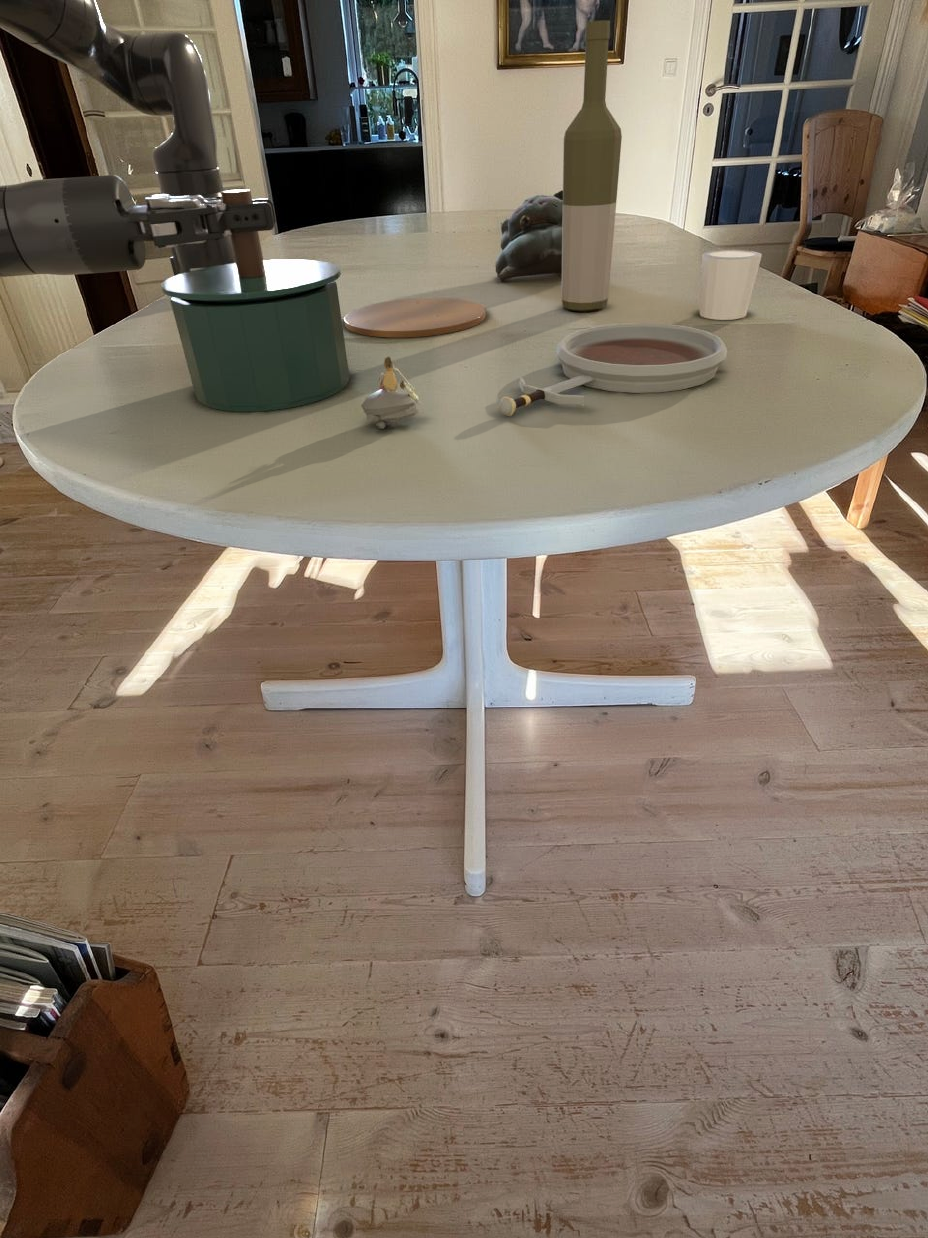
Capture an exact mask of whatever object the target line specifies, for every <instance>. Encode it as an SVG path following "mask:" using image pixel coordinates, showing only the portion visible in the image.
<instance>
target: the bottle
mask: <svg viewBox="0 0 928 1238" xmlns="http://www.w3.org/2000/svg"><path fill="white" fill-rule="evenodd" d="M584 30H585V33H584V42H585V51H584V52H585V53H584V77H583V99H582V100H583V101H582V105H581V108H580V110H579V111H578V113H577V114H576V115H575V117H574V119H573V120H572V121H571V122H570V124H569V126H568V127H567V129H566V130H565V131H564V137H563V156H562V157H563V158H562V159H563V160H562V161H563V165H562V190H563V220H562V274H561V303H562V307H563V308H565V309H568V310H570V311H572V312H593V311H597V310H599V309H602V308H604V307H606V306H607V305H608V301H609V295H610V294H609V292H610V283H611V282H610V281H611V270H612V259H613V246H614V234H615V223H616V212H617V211H616V210H617V201H618V200H617V199H618V188H619V174H620V164H621V163H620V162H621V152H622V151H621V150H622V138H623V137H622V136H623V135H622V128H621V127H620V125H619V123H618V122H617V121H616V119H615V117H614V116H613V115H612V113H611V112H610V110H609V109H608V107H607V103H606V94H607V93H606V92H607V77H608V75H607V74H608V57H609V42H610V41H609V40H610V37H611V20H591V21H587V22H585V29H584Z"/></svg>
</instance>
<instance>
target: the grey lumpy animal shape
mask: <svg viewBox="0 0 928 1238" xmlns="http://www.w3.org/2000/svg"><path fill="white" fill-rule="evenodd" d="M562 220H563V189H562V190H559V191H558V192H556V193H554V194H553V195H551V194H548V195H545V194H537V195H534V196H532V197H531V196H530V197H528V198H526V199H525V200H524V201H523V202H522V204H521V205H519V207H517V208H516V209H515V210H514V211H513V212H512V213H511V214H510V218H509V217H508V218H507V217H505V220H504V221H503V222H500V232H501V237H500V249H501V252H500V253H499V255H498V256H497V259H496V260H495V262H494V265H495V266H494V267H495V273H496V275H497V276H496V277H497V278H498V279H499V280H500V281H501V282H504V281H505V280H509V279H512V278H519V277H532V276H540V275H541V276H542V275H549V274H550V275H552V274H557V275H562Z"/></svg>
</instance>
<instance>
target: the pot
mask: <svg viewBox="0 0 928 1238" xmlns="http://www.w3.org/2000/svg"><path fill="white" fill-rule="evenodd" d="M339 297H340V296H339V291H338V283H337V282H336V280H335V281H333V282H331V283H329V284H326V285H323V286H321V287H317V288H314V289H312V290H309V291H307V292H303V293H300V294H296V295H292V296H287V297H282V298H276V299H269V300H261V301H251V302H234V303H216V302H203V301H197V300H187V299H179V298H175V297H171V296H170V305H171V309H172V312H173V317H174V320H175V324H176V327H177V331H178V335H179V339H180V343H181V346H182V350H183V353H184V358H185V361H186V364H187V368H188V372H189V377H190V380H191V384H192V387H193V392H194V395H195V396H196V398H197V400H198V402H200V404H201V405H204V406H206V407H207V408H211V409H215V410H220V411H224V412H225V411H226V412H237V413H250V412H251V413H256V412H270V411H277V410H278V411H279V410H285V409H291V408H297V407H301V406H305V405H309V404H314V403H316V402H319V401H322V400H325V399H327V398H329V397H332V396H333V395H336V394H338V393H339V392H340V391H342V390H343V389H344V388H346V387H347V385H348V383H349V380H350V371H349V364H348V355H347V350H346V341H345V334H344V326H343V320H342V313H341V305H340V299H339Z"/></svg>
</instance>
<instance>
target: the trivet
mask: <svg viewBox="0 0 928 1238" xmlns="http://www.w3.org/2000/svg"><path fill="white" fill-rule="evenodd" d="M486 313H487V312H486V308H485V306H483V305H482V304H481V303H478V302H476V301H471V300H466V299H460V298H453V297H451V298H450V297H416V298H413V297H412V298H403V299H394V300H387V301H383V302H377V303H372V304H368V305H364V306H362V307H358V308H356V309H353V310H351V311H350V312H348V313H347V314H346V315H345V316H344V318H343V321H344V327H345V328H346V329H347V330H348V331H350V332H352V333H354V334H357V335H358V334H359V335H361V336H362V335H363V336H369V337H376V338H391V339H392V338H395V339H396V338H400V339H401V338H421V337H431V336H438V335H439V336H440V335H445V334H451V333H455V332H459V331H460V332H461V331H463V330H466V329H470V328H473V327H474V326H477V325H479V324H481V323H483V321H484V320H485V319H486V316H487V314H486Z"/></svg>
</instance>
